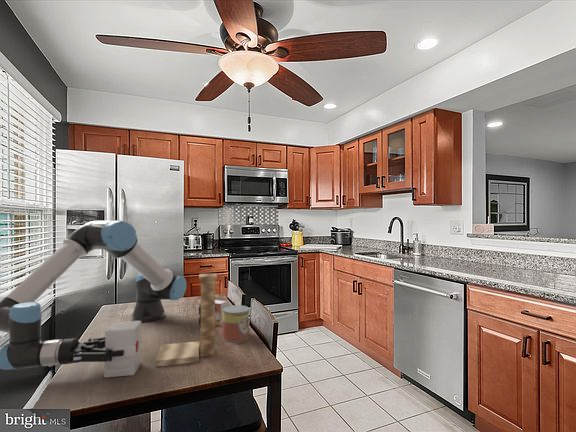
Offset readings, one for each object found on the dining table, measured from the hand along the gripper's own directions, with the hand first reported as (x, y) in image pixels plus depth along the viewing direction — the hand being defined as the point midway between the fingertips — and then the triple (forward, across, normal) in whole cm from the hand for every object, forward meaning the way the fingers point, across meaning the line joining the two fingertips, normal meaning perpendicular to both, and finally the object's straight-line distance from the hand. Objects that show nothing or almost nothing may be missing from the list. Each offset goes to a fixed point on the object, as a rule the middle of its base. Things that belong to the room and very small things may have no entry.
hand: (138, 344), depth 105 cm
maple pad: (+13, -7, -8) cm, 16 cm away
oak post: (+23, -7, -8) cm, 25 cm away
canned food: (+34, -20, -8) cm, 41 cm away
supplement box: (-4, 0, -8) cm, 9 cm away
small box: (+27, -40, -8) cm, 49 cm away
